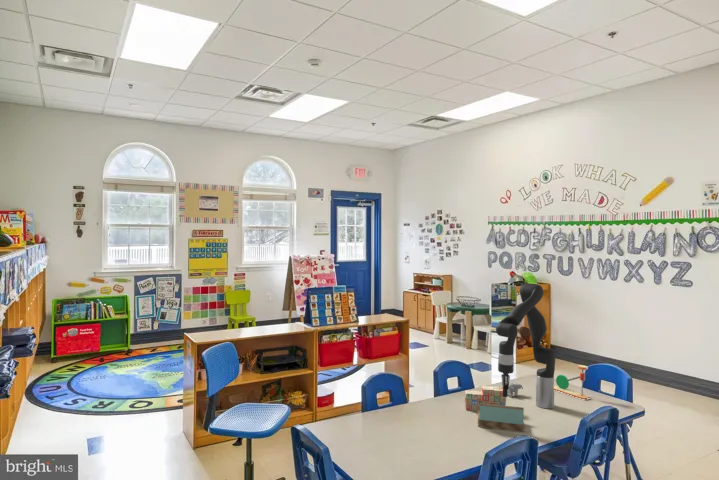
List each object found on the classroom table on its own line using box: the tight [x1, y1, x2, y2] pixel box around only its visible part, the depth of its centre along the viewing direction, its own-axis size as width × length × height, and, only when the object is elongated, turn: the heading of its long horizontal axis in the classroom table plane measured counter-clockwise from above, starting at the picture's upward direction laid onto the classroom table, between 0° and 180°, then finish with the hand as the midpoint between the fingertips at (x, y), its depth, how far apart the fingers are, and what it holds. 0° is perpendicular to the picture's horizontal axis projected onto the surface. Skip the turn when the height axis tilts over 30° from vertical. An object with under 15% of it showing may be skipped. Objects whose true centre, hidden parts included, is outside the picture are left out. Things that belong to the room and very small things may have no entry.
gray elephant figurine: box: [507, 381, 524, 398], centre depth 284 cm, size 9×12×8 cm
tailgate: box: [479, 403, 525, 425], centre depth 231 cm, size 21×1×8 cm, turn 76°
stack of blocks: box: [464, 385, 507, 412], centre depth 259 cm, size 21×6×12 cm, turn 81°
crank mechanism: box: [554, 364, 591, 400], centre depth 289 cm, size 25×7×19 cm, turn 31°
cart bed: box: [477, 406, 525, 433], centre depth 238 cm, size 22×12×6 cm, turn 76°
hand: (505, 396), depth 235 cm, fingers closed
